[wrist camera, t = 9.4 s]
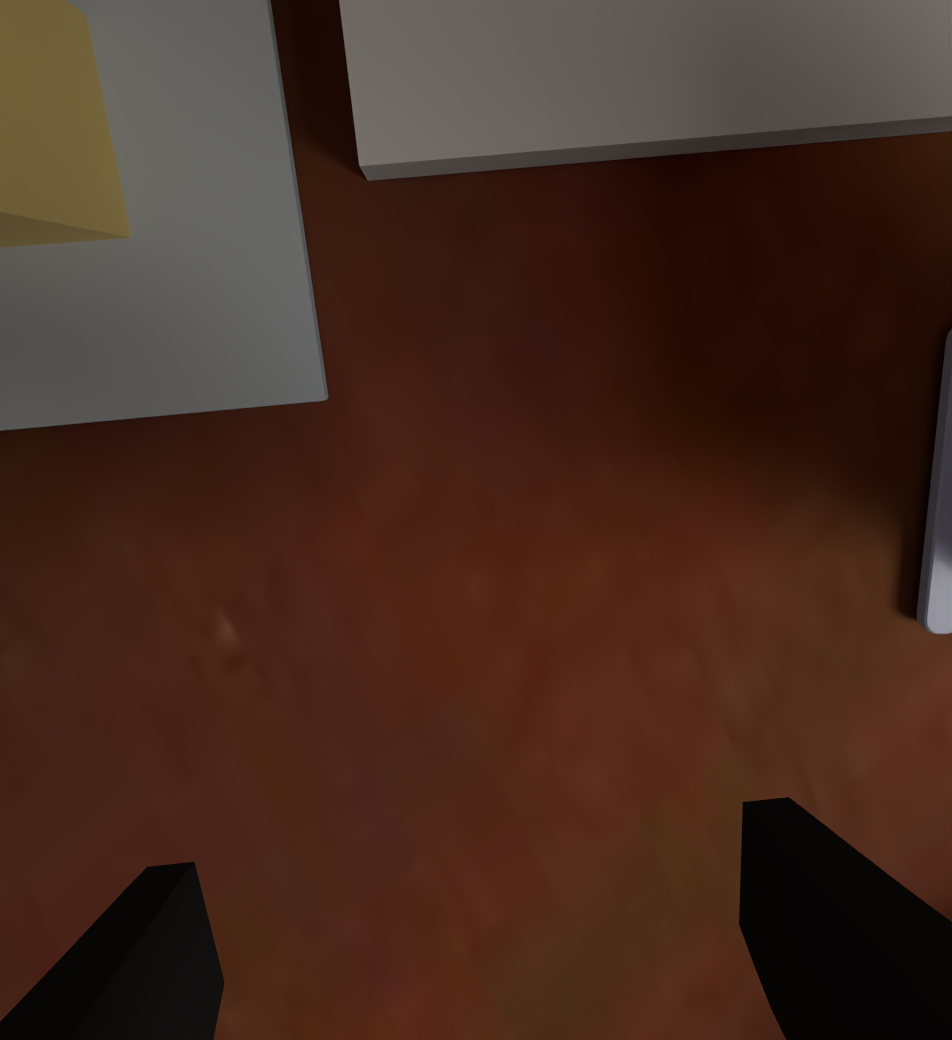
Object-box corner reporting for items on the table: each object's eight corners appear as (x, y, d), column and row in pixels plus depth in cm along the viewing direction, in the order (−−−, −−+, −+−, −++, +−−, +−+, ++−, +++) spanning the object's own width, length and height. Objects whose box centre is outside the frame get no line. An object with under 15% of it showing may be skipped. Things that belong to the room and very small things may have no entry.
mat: (242, -193, 13) (235, -210, 13) (328, 397, 17) (325, 400, 16) (-361, -150, 13) (-392, -166, 13) (-153, 442, 16) (-171, 446, 16)
